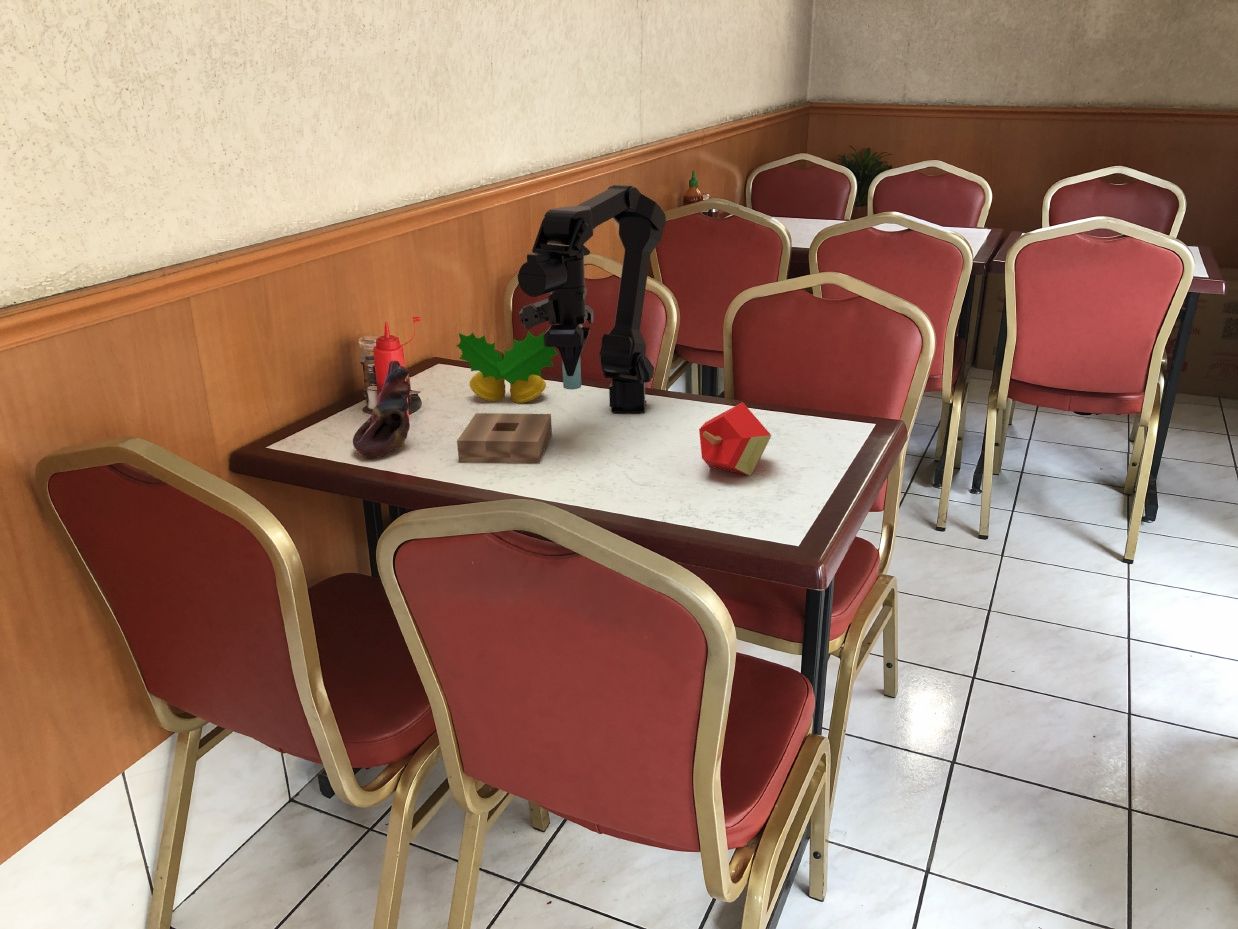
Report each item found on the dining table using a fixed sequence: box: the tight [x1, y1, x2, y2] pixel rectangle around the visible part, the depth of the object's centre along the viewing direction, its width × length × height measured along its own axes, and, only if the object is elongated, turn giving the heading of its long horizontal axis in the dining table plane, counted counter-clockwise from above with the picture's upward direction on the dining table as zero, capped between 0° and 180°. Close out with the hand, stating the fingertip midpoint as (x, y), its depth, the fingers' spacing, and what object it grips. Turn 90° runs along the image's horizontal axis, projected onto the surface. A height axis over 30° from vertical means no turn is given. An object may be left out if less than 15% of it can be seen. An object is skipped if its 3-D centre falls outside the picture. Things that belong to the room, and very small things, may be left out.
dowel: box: [561, 357, 582, 390], centre depth 170 cm, size 3×3×8 cm
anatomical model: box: [352, 360, 411, 459], centre depth 171 cm, size 9×13×15 cm
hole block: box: [456, 412, 553, 465], centre depth 172 cm, size 14×14×4 cm
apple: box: [698, 401, 772, 477], centre depth 159 cm, size 12×12×15 cm
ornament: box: [455, 331, 559, 404], centre depth 195 cm, size 21×8×15 cm, turn 84°
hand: (571, 372), depth 171 cm, fingers closed on dowel, 3 cm apart
